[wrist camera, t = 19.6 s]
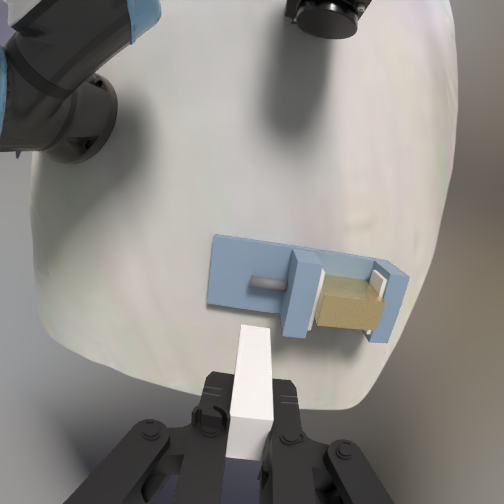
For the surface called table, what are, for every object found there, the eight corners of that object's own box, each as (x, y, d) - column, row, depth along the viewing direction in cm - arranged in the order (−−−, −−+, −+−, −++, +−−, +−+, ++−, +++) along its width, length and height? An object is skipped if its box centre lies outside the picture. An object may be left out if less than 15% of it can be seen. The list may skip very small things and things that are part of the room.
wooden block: (307, 298, 41) (317, 325, 33) (313, 272, 40) (325, 295, 32) (358, 304, 41) (376, 330, 33) (365, 279, 40) (385, 301, 32)
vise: (208, 299, 43) (198, 322, 36) (215, 234, 41) (205, 247, 33) (370, 319, 43) (387, 343, 36) (387, 260, 41) (409, 276, 34)
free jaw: (245, 310, 41) (243, 331, 36) (255, 242, 39) (254, 255, 33) (303, 317, 42) (309, 338, 36) (318, 252, 39) (327, 265, 33)
